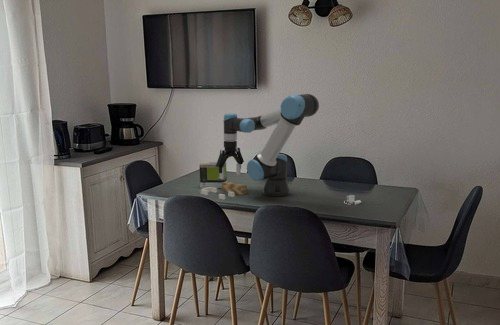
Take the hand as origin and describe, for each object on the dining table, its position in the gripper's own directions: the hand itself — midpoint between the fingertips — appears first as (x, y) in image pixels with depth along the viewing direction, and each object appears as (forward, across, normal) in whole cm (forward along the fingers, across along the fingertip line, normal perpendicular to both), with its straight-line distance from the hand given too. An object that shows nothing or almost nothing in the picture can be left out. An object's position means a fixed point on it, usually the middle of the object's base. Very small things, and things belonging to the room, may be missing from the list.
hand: (230, 176), depth 287 cm
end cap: (+9, +12, -5) cm, 16 cm away
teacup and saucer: (+8, -24, +68) cm, 72 cm away
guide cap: (+8, +12, +10) cm, 17 cm away
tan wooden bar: (+9, 0, +4) cm, 9 cm away
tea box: (+9, -1, -15) cm, 18 cm away
